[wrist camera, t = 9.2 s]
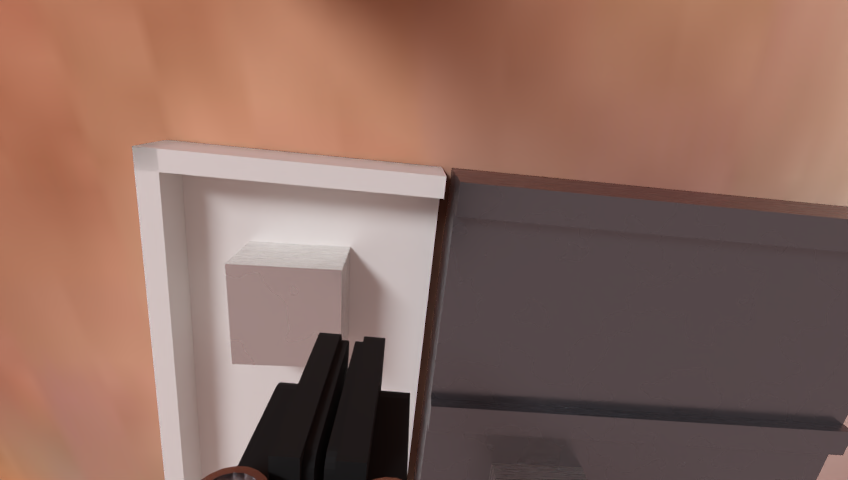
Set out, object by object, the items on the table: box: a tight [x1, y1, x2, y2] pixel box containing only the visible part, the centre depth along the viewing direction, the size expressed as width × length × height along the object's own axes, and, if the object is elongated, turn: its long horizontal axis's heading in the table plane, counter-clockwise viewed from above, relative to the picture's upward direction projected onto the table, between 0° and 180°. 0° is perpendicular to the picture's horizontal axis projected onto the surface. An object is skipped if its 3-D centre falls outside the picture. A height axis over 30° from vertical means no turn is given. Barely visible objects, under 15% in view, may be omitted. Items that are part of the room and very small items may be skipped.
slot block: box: [414, 168, 848, 480], centre depth 20 cm, size 18×19×3 cm
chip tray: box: [132, 140, 446, 480], centre depth 19 cm, size 11×19×2 cm, turn 174°
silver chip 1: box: [225, 241, 351, 367], centre depth 17 cm, size 4×4×2 cm
